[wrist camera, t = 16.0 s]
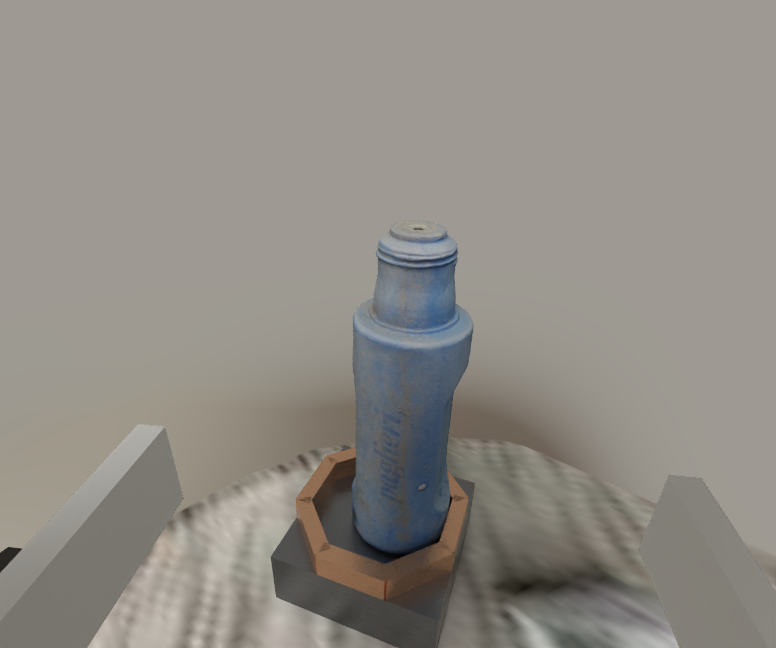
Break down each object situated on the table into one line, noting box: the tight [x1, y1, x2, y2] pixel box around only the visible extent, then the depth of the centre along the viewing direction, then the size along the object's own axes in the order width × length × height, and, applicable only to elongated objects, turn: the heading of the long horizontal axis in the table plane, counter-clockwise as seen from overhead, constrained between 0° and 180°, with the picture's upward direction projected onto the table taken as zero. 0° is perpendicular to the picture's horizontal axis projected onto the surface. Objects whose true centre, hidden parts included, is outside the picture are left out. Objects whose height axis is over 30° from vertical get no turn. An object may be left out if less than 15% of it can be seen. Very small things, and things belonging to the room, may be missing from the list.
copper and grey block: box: [271, 446, 475, 648], centre depth 47 cm, size 16×16×8 cm
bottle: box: [352, 221, 473, 554], centre depth 40 cm, size 10×10×30 cm
